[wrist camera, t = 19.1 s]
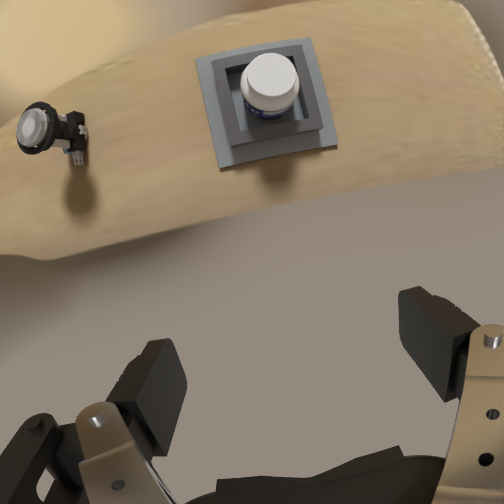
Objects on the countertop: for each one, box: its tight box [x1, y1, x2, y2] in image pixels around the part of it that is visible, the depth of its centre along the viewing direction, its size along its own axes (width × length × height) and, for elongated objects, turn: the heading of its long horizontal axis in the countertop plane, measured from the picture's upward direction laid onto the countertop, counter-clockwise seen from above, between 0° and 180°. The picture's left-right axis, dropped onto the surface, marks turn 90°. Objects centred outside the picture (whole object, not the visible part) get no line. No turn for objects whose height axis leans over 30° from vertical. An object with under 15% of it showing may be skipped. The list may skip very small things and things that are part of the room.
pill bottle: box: [240, 53, 299, 120], centre depth 27 cm, size 5×5×9 cm
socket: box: [195, 37, 338, 168], centre depth 30 cm, size 13×13×3 cm
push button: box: [16, 102, 88, 166], centre depth 28 cm, size 7×5×10 cm
